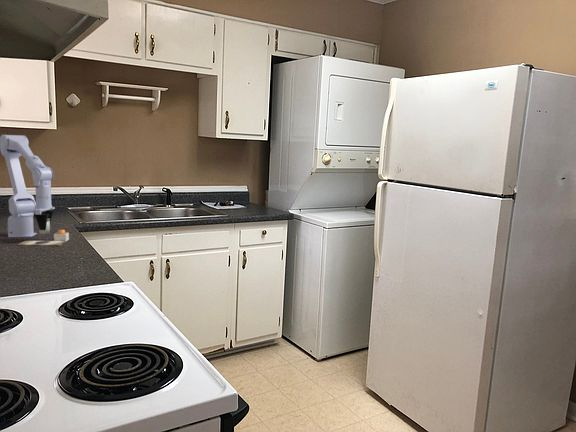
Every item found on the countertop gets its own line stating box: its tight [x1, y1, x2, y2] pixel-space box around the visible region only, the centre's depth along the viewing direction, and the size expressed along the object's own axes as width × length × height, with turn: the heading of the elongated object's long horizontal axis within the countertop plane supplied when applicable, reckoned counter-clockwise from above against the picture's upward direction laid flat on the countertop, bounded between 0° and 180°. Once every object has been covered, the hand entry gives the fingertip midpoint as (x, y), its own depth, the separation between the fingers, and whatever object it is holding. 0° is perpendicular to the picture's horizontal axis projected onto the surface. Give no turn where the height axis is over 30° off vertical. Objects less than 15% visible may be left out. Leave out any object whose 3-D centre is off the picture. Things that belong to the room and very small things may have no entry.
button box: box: [53, 232, 70, 242], centre depth 204 cm, size 5×5×3 cm
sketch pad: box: [17, 240, 67, 247], centre depth 197 cm, size 16×8×1 cm, turn 99°
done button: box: [57, 229, 66, 234], centre depth 204 cm, size 3×3×3 cm
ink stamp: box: [38, 218, 51, 235], centre depth 202 cm, size 4×4×6 cm
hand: (44, 229), depth 202 cm, fingers closed on ink stamp, 4 cm apart
